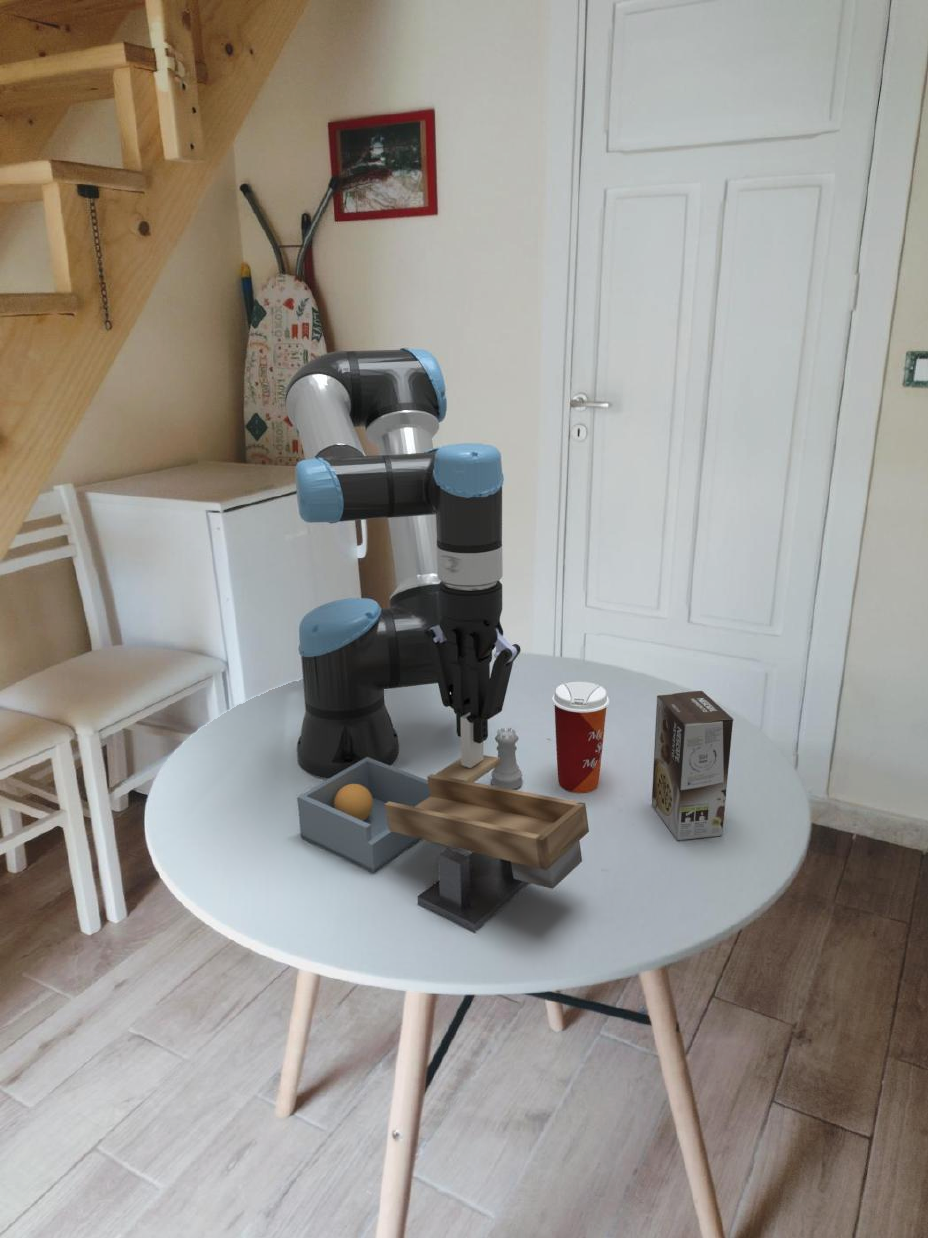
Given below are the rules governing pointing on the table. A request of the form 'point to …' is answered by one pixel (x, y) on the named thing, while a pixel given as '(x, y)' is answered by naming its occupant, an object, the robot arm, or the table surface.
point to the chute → (497, 823)
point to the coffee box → (691, 764)
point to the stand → (470, 888)
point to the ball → (354, 801)
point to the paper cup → (579, 734)
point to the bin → (350, 835)
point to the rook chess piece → (507, 761)
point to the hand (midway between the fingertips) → (472, 762)
